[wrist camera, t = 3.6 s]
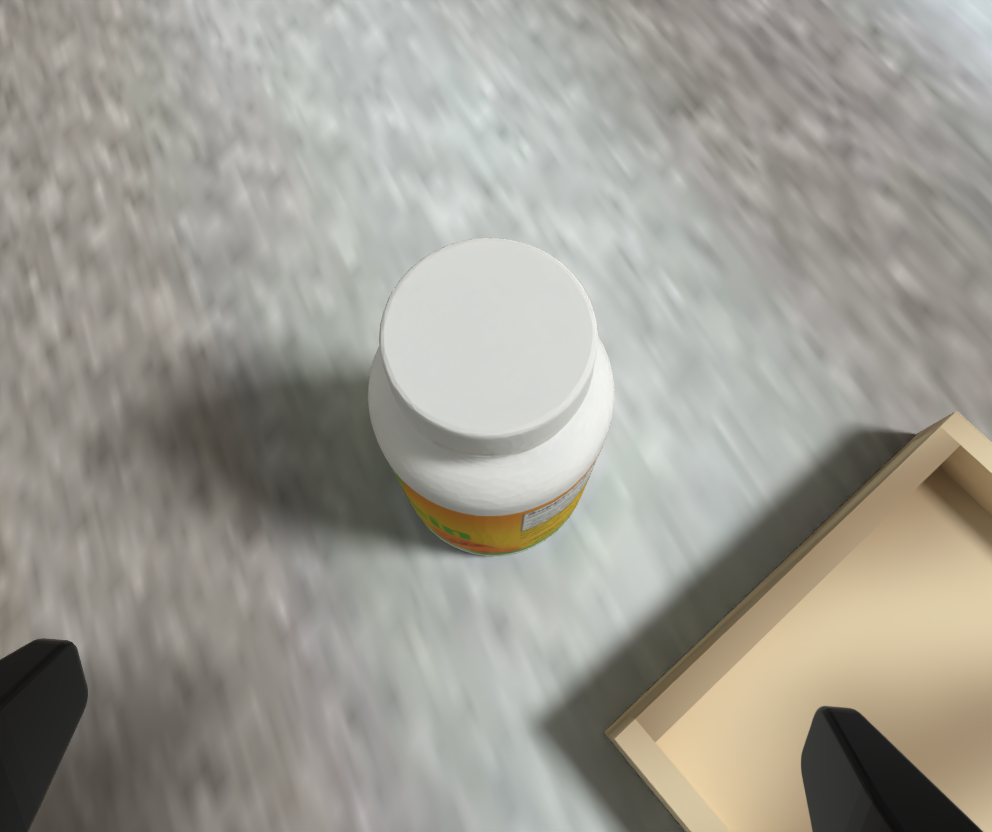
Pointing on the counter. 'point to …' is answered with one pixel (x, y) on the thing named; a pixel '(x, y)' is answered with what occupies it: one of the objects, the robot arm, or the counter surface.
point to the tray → (841, 652)
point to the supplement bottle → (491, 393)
